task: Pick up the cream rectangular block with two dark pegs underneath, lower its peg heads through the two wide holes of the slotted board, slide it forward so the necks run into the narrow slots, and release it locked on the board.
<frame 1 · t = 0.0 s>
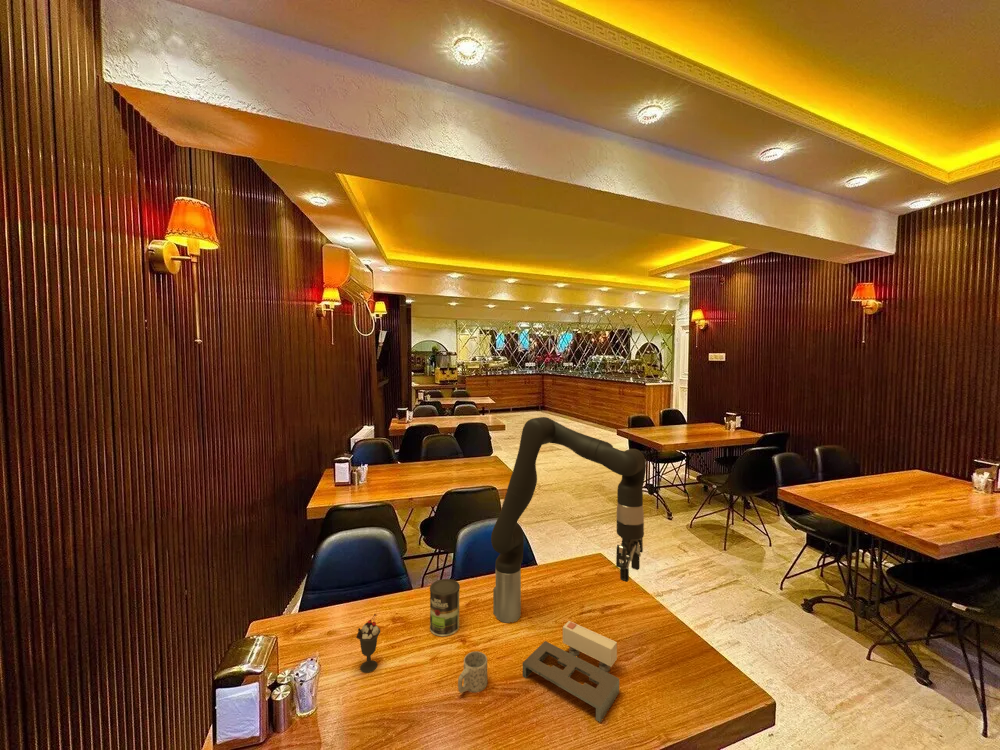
hand: (630, 574, 113), 29 cm above the table, fingers open, 8 cm apart
mug: (471, 687, 109), on the table
cream rectangular block: (589, 660, 119), on the table
slotted board: (569, 684, 110), on the table
sundae: (368, 667, 117), on the table
coffee can: (444, 627, 135), on the table
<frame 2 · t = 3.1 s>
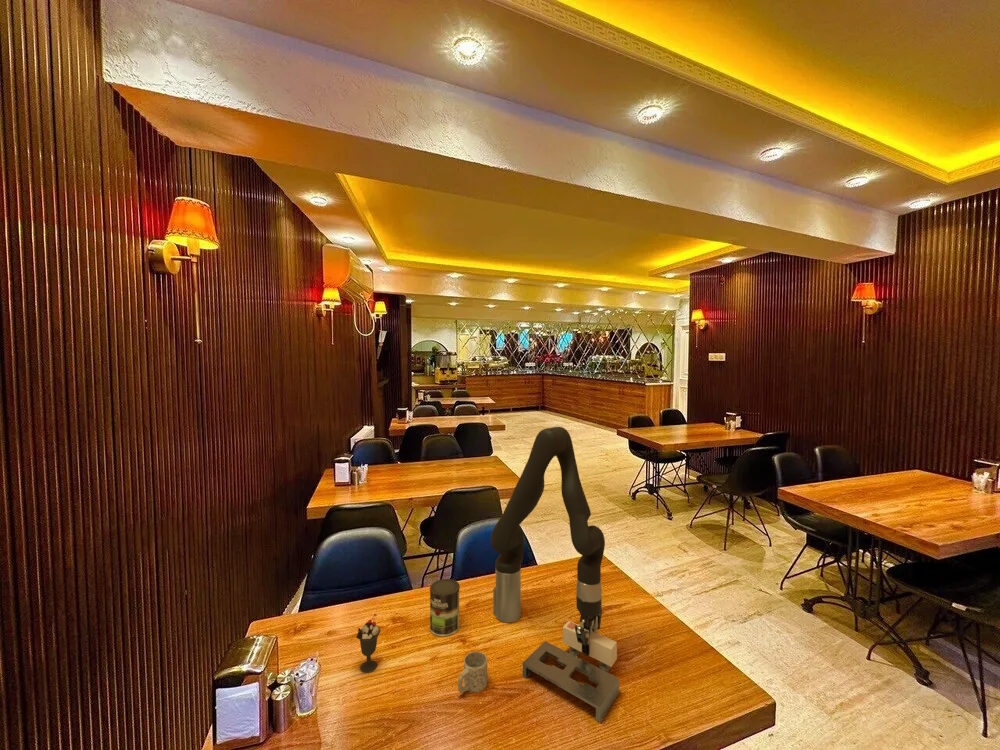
hand: (589, 649, 119), 3 cm above the table, fingers closed on cream rectangular block, 4 cm apart
cream rectangular block: (589, 660, 119), on the table, touching gripper
everything else where it was.
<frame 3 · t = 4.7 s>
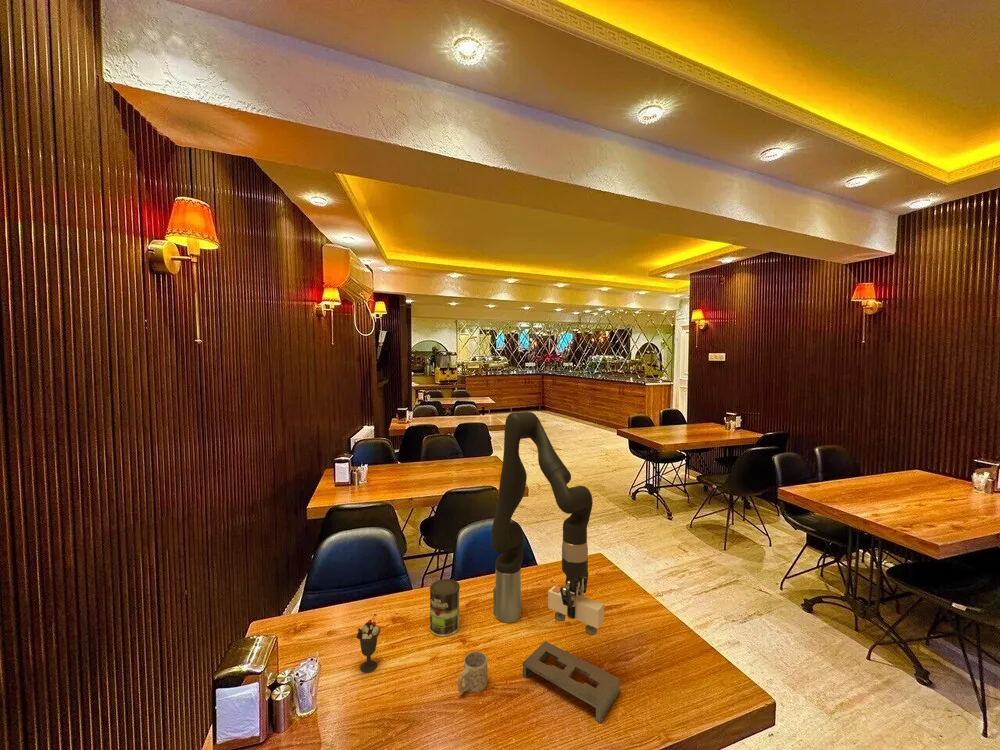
hand: (574, 613, 114), 17 cm above the table, fingers closed on cream rectangular block, 4 cm apart
cream rectangular block: (575, 624, 114), point 14 cm above the table, touching gripper
everything else where it was.
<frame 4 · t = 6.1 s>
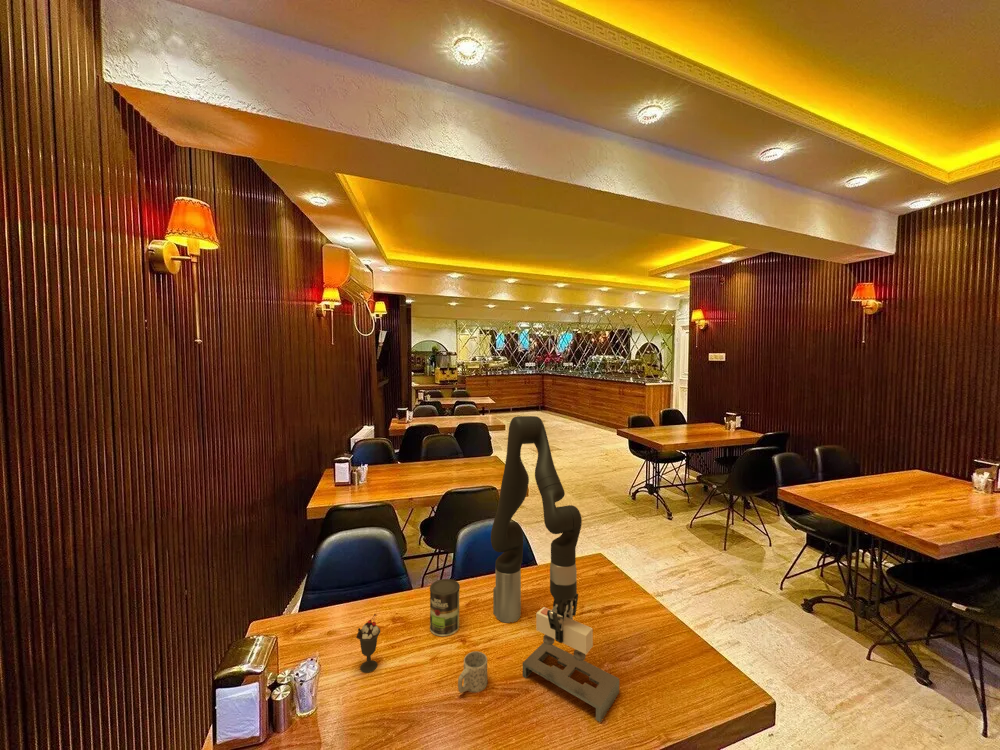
hand: (563, 637, 111), 13 cm above the table, fingers closed on cream rectangular block, 4 cm apart
cream rectangular block: (563, 648, 111), point 9 cm above the table, touching gripper
everything else where it was.
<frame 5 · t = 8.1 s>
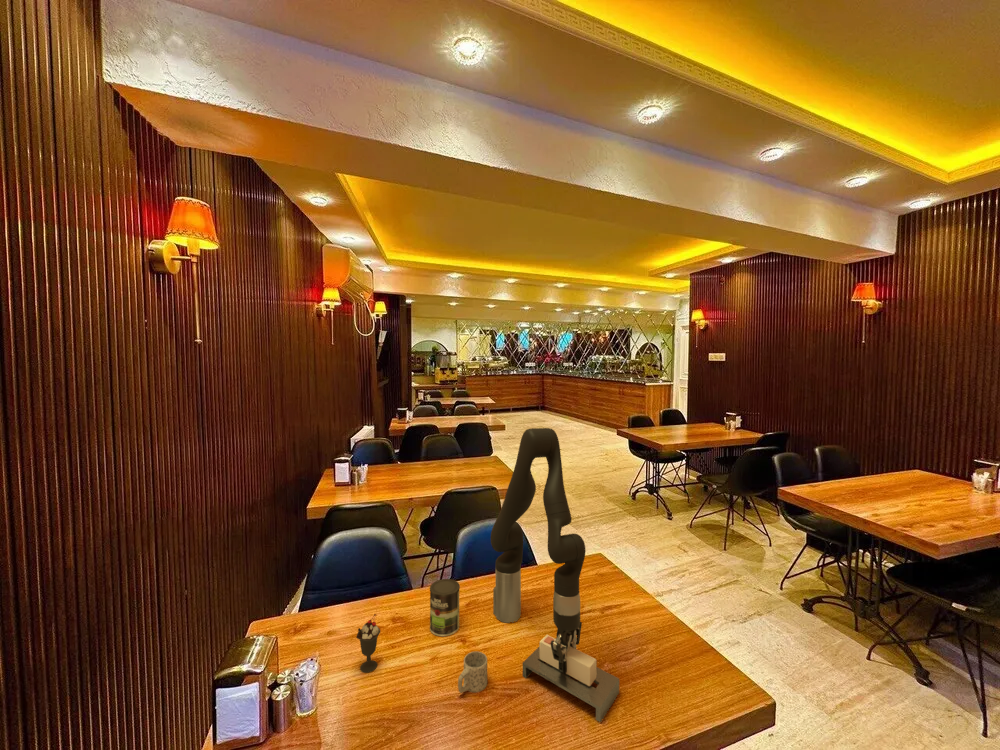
hand: (566, 666, 110), 5 cm above the table, fingers closed on cream rectangular block, 4 cm apart
cream rectangular block: (567, 678, 110), point 1 cm above the table, touching gripper
everything else where it was.
when the fingers open (5 cm above the table, at t = 9.6 s): cream rectangular block stays where it is, resting on slotted board.
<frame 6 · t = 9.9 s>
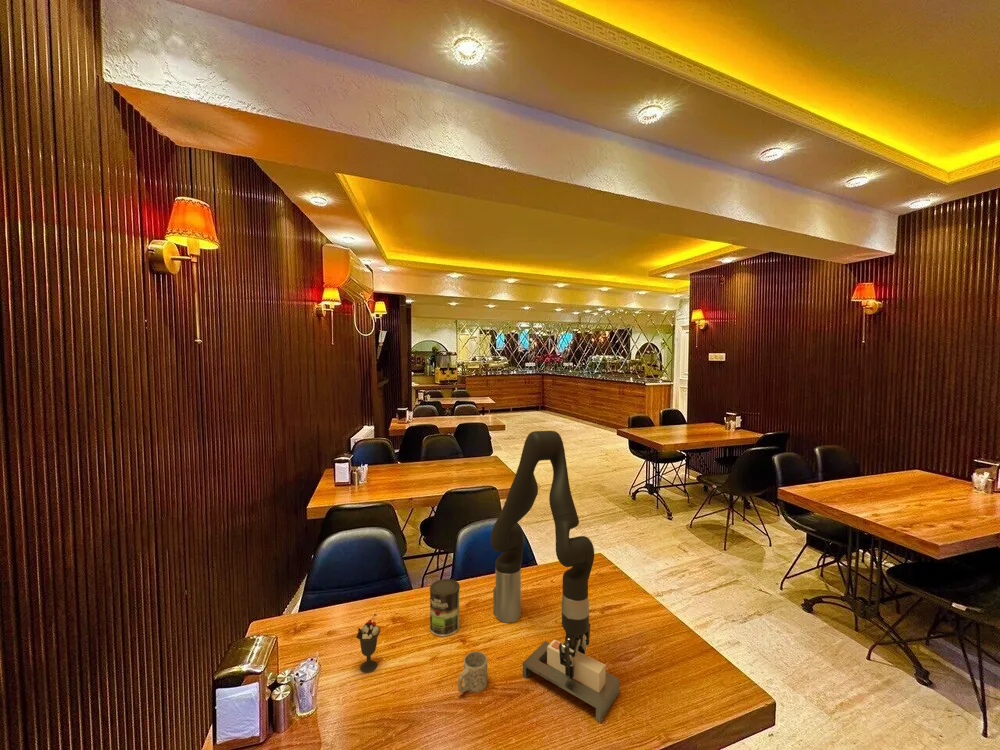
hand: (575, 669, 109), 5 cm above the table, fingers open, 6 cm apart
cream rectangular block: (575, 684, 109), point 1 cm above the table, touching slotted board
everything else where it was.
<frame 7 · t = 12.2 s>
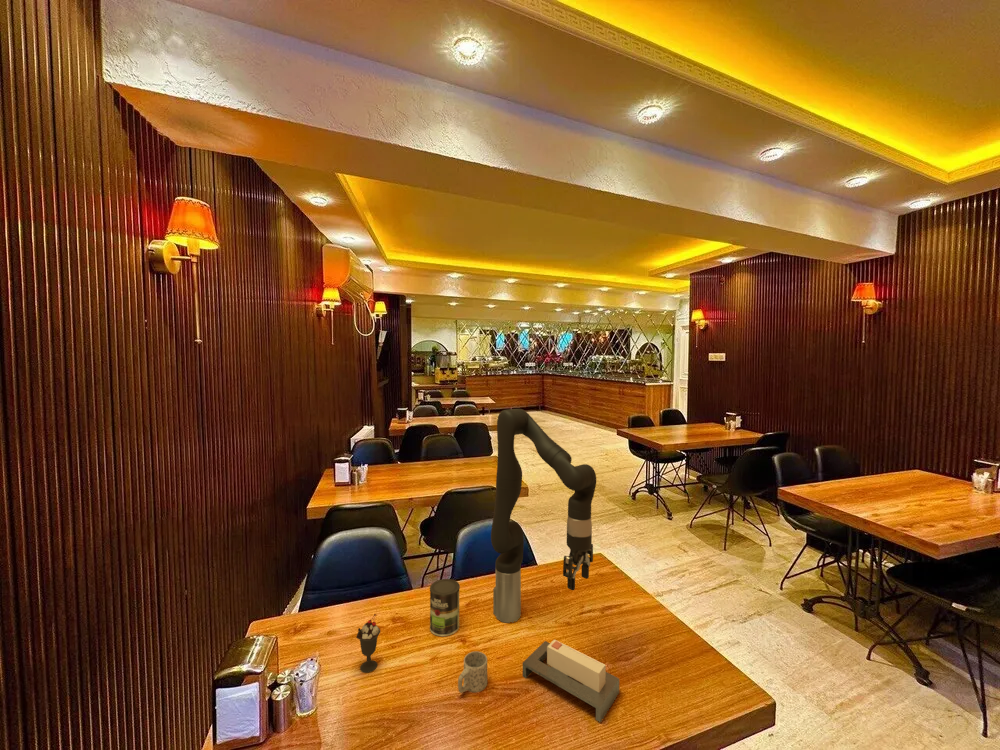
hand: (578, 583, 119), 23 cm above the table, fingers open, 8 cm apart
nothing on the table moved.
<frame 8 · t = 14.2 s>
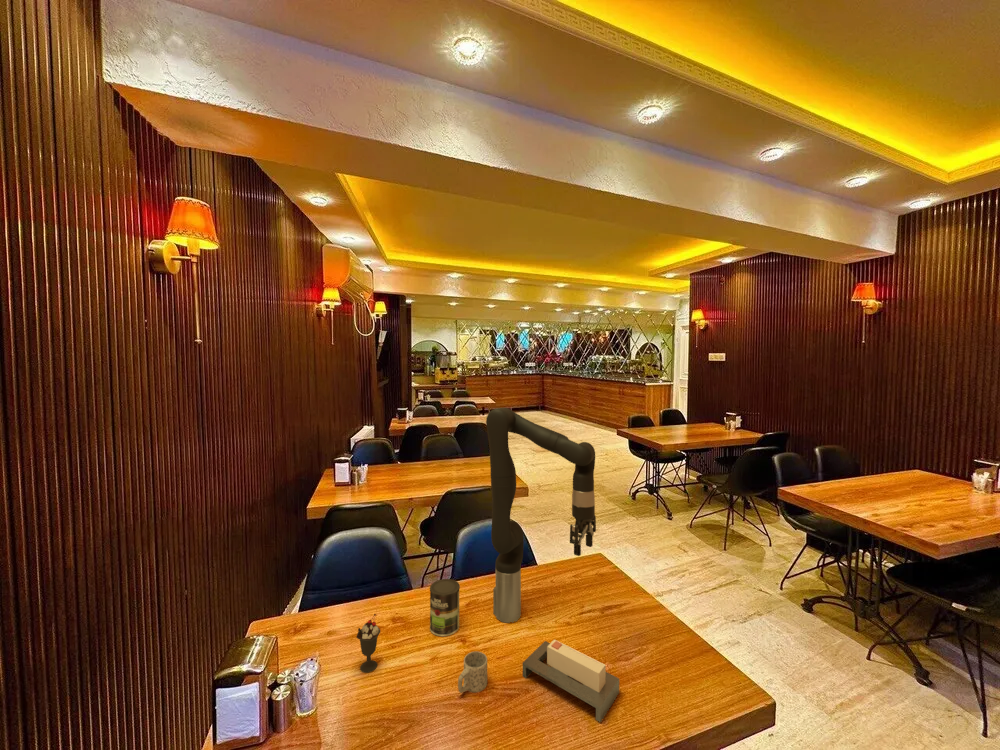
hand: (583, 550, 131), 28 cm above the table, fingers open, 8 cm apart
nothing on the table moved.
at the end: cream rectangular block 0.2 cm from the target spot on the slotted board, point 1.0 cm above the slotted board's base; cream rectangular block tilted 0°; the gripper is holding nothing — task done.
